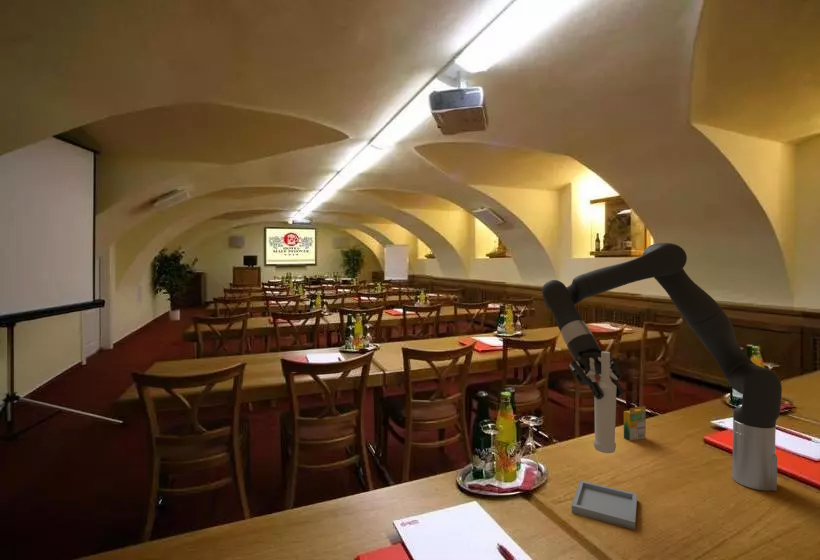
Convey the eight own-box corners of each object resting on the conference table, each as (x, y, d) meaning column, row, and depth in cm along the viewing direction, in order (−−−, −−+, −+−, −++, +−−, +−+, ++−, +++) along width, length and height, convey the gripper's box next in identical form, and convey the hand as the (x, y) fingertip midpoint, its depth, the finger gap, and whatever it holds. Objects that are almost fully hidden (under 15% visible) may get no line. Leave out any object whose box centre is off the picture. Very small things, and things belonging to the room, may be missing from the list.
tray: (637, 500, 109) (637, 493, 109) (635, 529, 97) (635, 522, 97) (580, 486, 116) (580, 480, 116) (571, 512, 104) (571, 505, 104)
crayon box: (639, 435, 150) (639, 403, 150) (646, 438, 147) (646, 406, 147) (623, 437, 148) (623, 405, 148) (629, 441, 145) (630, 408, 145)
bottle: (614, 446, 108) (615, 350, 107) (617, 454, 103) (618, 355, 102) (592, 443, 109) (593, 349, 108) (594, 452, 105) (595, 353, 104)
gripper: (563, 334, 110) (593, 392, 99) (608, 331, 114) (643, 387, 103) (551, 349, 116) (579, 406, 105) (595, 346, 119) (626, 401, 108)
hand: (610, 396), depth 104 cm, fingers closed on bottle, 5 cm apart
